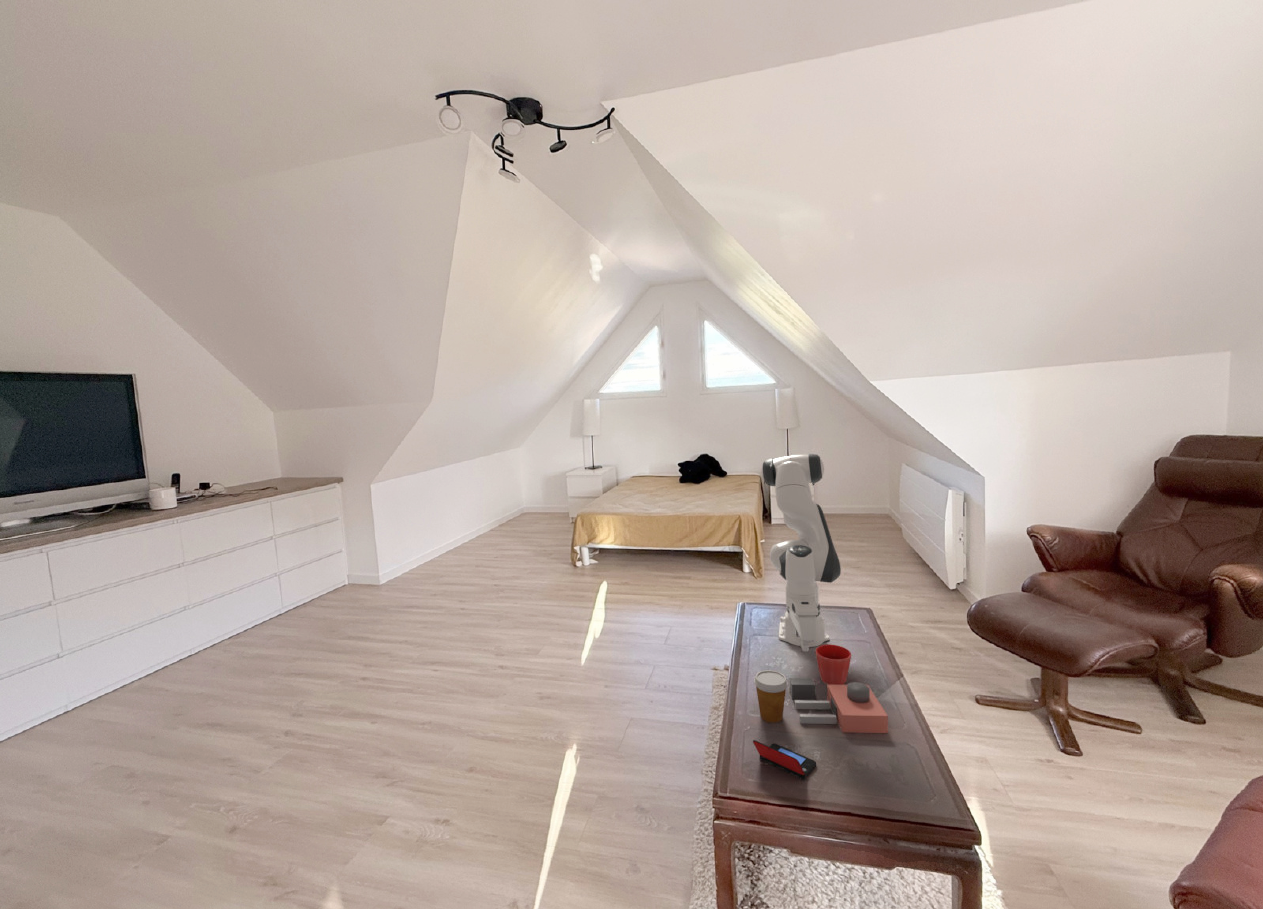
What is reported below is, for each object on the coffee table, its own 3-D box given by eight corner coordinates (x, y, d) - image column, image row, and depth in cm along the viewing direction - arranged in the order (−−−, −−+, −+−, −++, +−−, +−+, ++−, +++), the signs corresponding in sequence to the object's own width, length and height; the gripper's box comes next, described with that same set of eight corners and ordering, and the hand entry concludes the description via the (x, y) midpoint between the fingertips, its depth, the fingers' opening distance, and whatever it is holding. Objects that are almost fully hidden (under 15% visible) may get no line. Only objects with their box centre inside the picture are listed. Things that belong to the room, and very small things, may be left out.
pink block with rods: (792, 699, 165) (791, 674, 164) (868, 700, 162) (868, 675, 162) (803, 731, 149) (803, 704, 148) (887, 733, 146) (887, 705, 146)
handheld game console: (818, 765, 135) (817, 738, 134) (798, 789, 127) (797, 760, 127) (773, 745, 144) (772, 719, 143) (752, 766, 136) (751, 738, 135)
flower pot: (854, 689, 169) (854, 660, 168) (818, 687, 171) (817, 658, 170) (848, 672, 179) (847, 644, 178) (813, 670, 181) (813, 643, 180)
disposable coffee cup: (789, 709, 159) (788, 671, 158) (787, 728, 150) (786, 688, 149) (756, 705, 162) (755, 667, 161) (753, 723, 154) (752, 683, 152)
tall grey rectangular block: (789, 692, 169) (789, 677, 168) (812, 693, 168) (812, 678, 167) (792, 699, 165) (791, 684, 164) (815, 700, 164) (815, 684, 163)
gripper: (784, 587, 174) (785, 628, 175) (797, 612, 154) (797, 658, 155) (804, 587, 173) (804, 628, 174) (819, 612, 153) (820, 658, 154)
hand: (801, 643), depth 165 cm, fingers open, 8 cm apart
